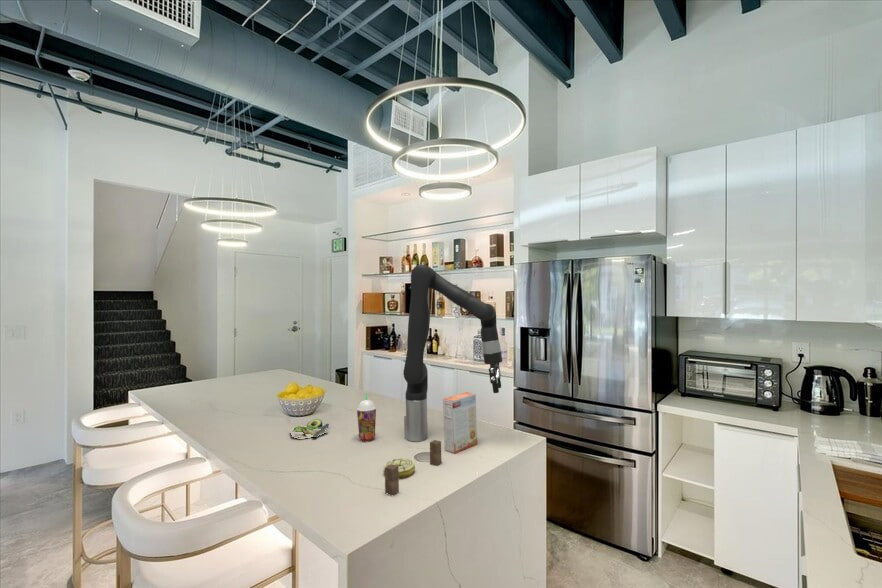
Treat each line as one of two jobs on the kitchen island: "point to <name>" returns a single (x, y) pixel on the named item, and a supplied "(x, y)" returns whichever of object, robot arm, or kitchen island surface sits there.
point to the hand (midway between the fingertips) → (497, 390)
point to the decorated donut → (402, 467)
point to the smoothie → (366, 419)
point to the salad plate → (313, 428)
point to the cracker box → (460, 422)
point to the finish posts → (392, 470)
